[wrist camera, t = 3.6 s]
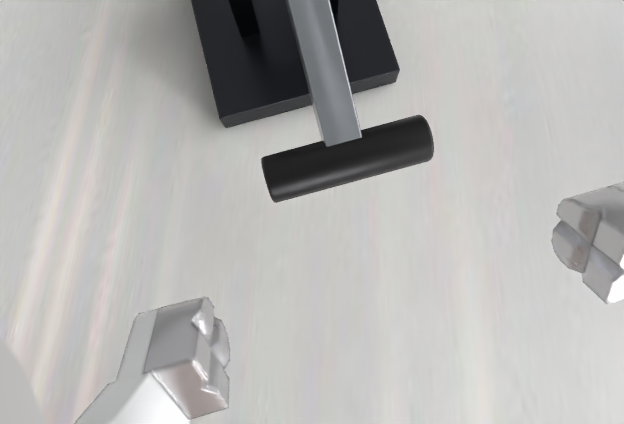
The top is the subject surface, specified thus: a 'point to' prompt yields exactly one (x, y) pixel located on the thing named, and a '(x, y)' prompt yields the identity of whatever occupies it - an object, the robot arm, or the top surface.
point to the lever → (338, 120)
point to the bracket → (283, 54)
